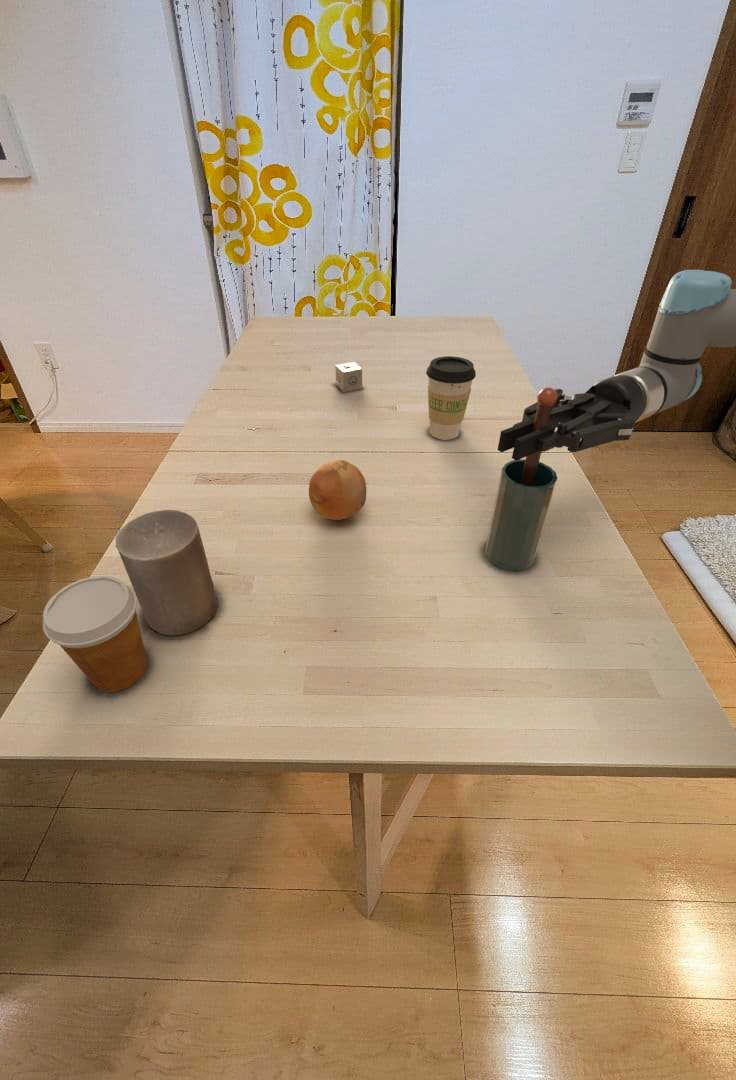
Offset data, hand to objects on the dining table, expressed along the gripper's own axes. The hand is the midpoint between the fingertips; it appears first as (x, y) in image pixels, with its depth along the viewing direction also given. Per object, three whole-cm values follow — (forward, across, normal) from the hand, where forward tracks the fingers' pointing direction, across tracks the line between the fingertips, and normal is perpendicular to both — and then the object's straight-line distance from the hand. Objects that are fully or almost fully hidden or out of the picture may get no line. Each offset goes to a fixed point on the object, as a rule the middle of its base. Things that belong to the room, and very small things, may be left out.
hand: (508, 445), depth 65 cm
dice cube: (-20, +68, -21) cm, 74 cm away
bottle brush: (-6, 0, -20) cm, 21 cm away
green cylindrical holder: (-6, 0, -21) cm, 22 cm away
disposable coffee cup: (+50, +12, -21) cm, 56 cm away
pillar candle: (+40, +18, -21) cm, 49 cm away
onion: (+11, +24, -21) cm, 34 cm away
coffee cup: (-24, +36, -21) cm, 48 cm away
